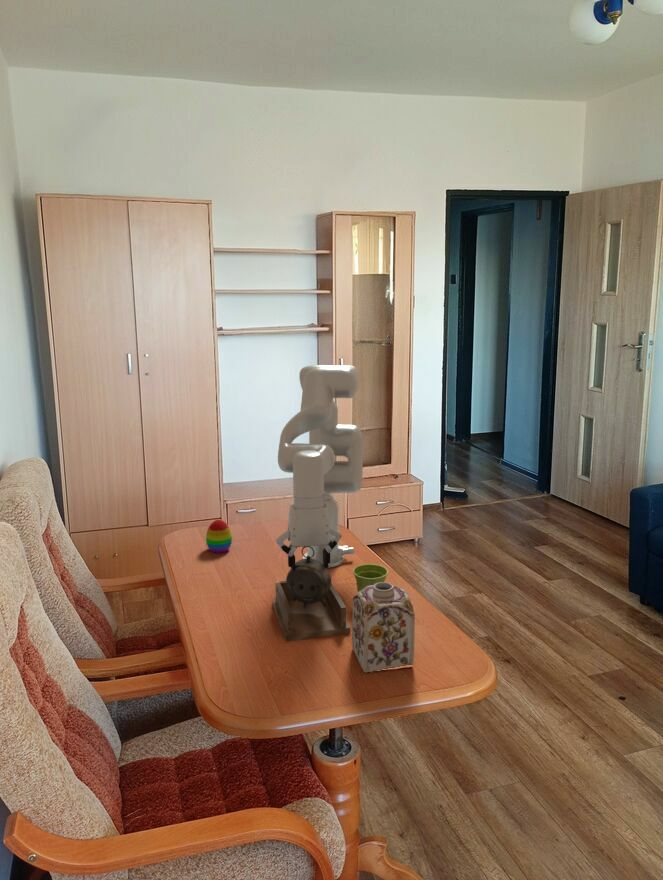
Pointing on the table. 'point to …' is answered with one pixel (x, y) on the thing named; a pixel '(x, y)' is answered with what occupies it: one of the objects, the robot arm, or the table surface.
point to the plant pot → (369, 575)
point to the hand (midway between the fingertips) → (309, 567)
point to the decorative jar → (383, 627)
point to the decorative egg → (218, 537)
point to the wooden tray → (309, 615)
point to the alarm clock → (308, 581)
